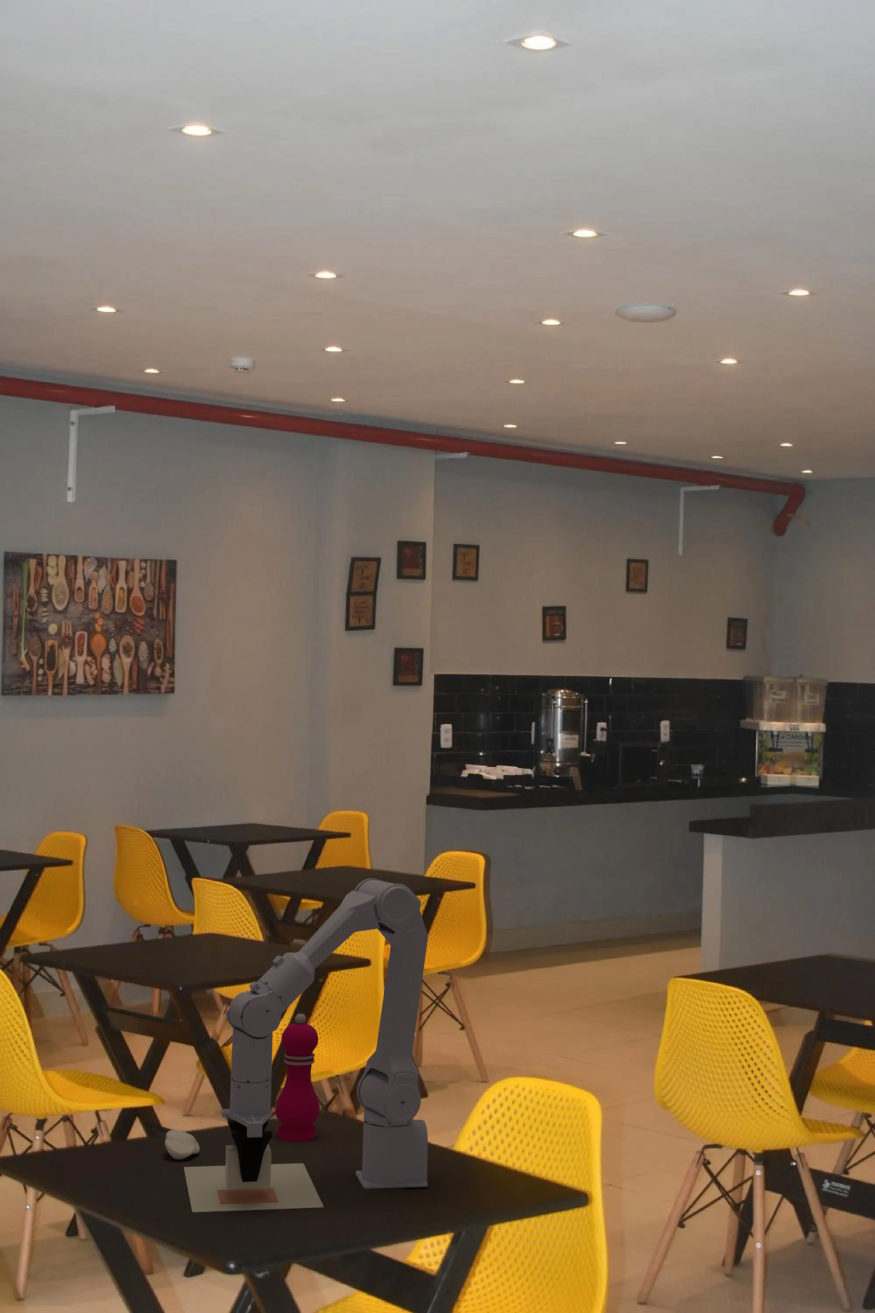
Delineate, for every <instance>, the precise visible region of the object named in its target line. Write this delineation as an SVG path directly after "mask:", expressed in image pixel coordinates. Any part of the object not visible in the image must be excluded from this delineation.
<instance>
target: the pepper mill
mask: <svg viewBox="0 0 875 1313" xmlns="http://www.w3.org/2000/svg"><path fill="white" fill-rule="evenodd" d="M294 1021H295V1022H294V1023H292V1024H289V1025H288V1026H286V1027H285V1028H284V1030H283V1032H282V1033H281V1041H280V1042H281V1045H282V1048H283V1049H284V1050H285V1051H286V1052H285V1053H284V1054H283V1057H284V1058H283V1062H284V1064H286V1066H285V1067H286V1078H285V1080H284V1081H285V1083H284V1085H283V1088H282V1090H281V1092H280V1094H279V1095H278V1098H277V1101H276V1105H275V1111H274V1113H275V1116H276V1118H277V1120H278V1121H279V1122H280V1125H278V1126H277V1139H280V1140H281V1141H288V1142H304V1141H305V1142H306V1141H311V1140H315V1138H316V1139H317V1126H315V1124H314V1123H315V1122H316V1121H317V1120H318V1118H319V1116H320V1114H321V1110H320V1108H321V1107H320V1102H319V1099H318V1098H319V1097H318V1096H317V1094H316V1091H315V1089H314V1086H313V1082H312V1065H313V1064H314V1063H315V1056H316V1055H315V1053H314V1051H315V1049H316V1048H317V1047H318V1043H319V1035H318V1032H317V1029H315V1027H314V1026H313V1025H310V1024H309V1023H306V1021H307V1018H306V1015H305V1014H304V1013H297V1014H296V1016H295V1017H294Z"/></svg>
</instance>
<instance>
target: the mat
mask: <svg viewBox="0 0 875 1313" xmlns="http://www.w3.org/2000/svg"><path fill="white" fill-rule="evenodd" d="M183 1170H184V1176H185V1181H186V1186H187V1191H188V1197H189V1202H190V1206H191V1207H190V1208H191V1212H192V1213H210V1212H232V1211H233V1212H237V1211H262V1210H289V1209H290V1210H291V1209H292V1210H293V1209H312V1208H313V1209H315V1208H316V1209H317V1208H324V1204H323V1202H322V1201H321V1200H322V1199H321V1198H320V1196H319V1194H318V1192H317V1190H316V1187H315V1185H314V1183H313V1181H312V1179H311V1177H310V1174H309V1173H308V1170H307V1168H306V1166H305V1164H304V1162H302V1163H300V1162H299V1163H271V1181H270V1188H274V1191H275V1194H276V1196H277V1199H278V1202H267V1203H240V1204H220V1201H219V1197H218V1193H217V1190H235V1189H227V1187H226V1183H225V1165H210V1166H209V1165H208V1166H207V1165H205V1166H184V1167H183ZM255 1189H263V1188H255Z"/></svg>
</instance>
